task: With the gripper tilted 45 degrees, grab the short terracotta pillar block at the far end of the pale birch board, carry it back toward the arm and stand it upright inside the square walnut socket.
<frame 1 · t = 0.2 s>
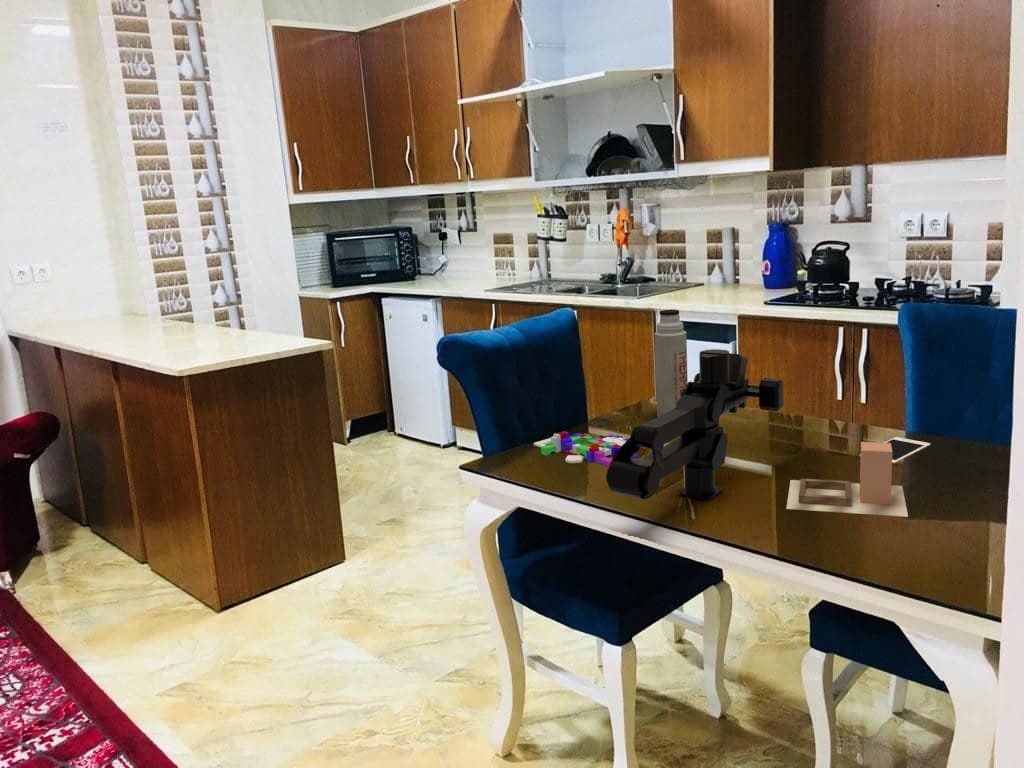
hand: (754, 382, 179), 17 cm above the table, tool horizontal, fingers open, 9 cm apart
board: (845, 502, 155), on the table
thermos bottle: (672, 417, 216), on the table
cell phone: (895, 452, 180), on the table
pillar: (874, 498, 153), point 1 cm above the table, touching board
building block set: (590, 451, 197), on the table
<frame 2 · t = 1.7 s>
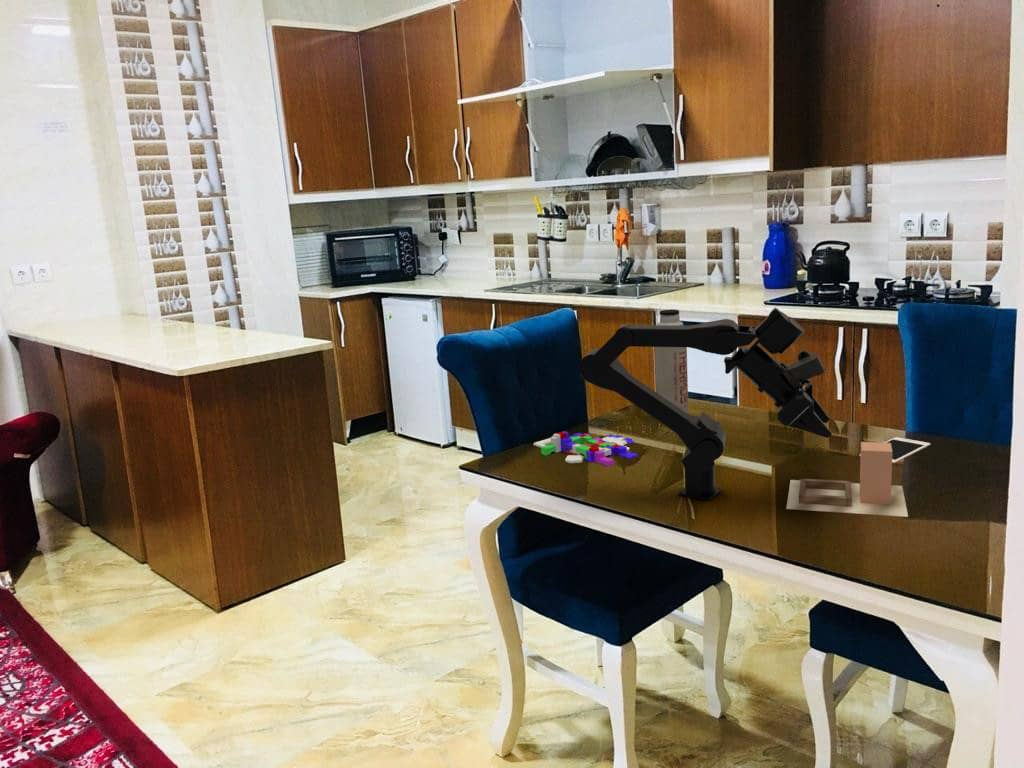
hand: (829, 428, 153), 14 cm above the table, tool tilted 45°, fingers open, 9 cm apart
nothing on the table moved.
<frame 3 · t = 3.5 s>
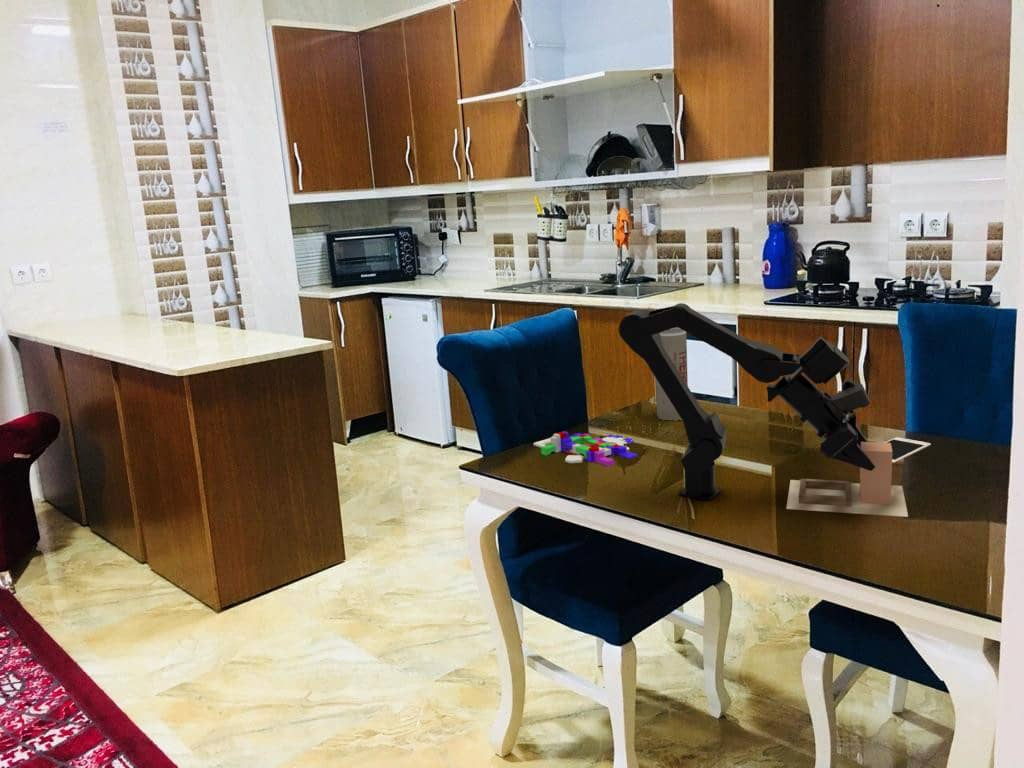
hand: (872, 460, 151), 8 cm above the table, tool tilted 45°, fingers open, 9 cm apart
nothing on the table moved.
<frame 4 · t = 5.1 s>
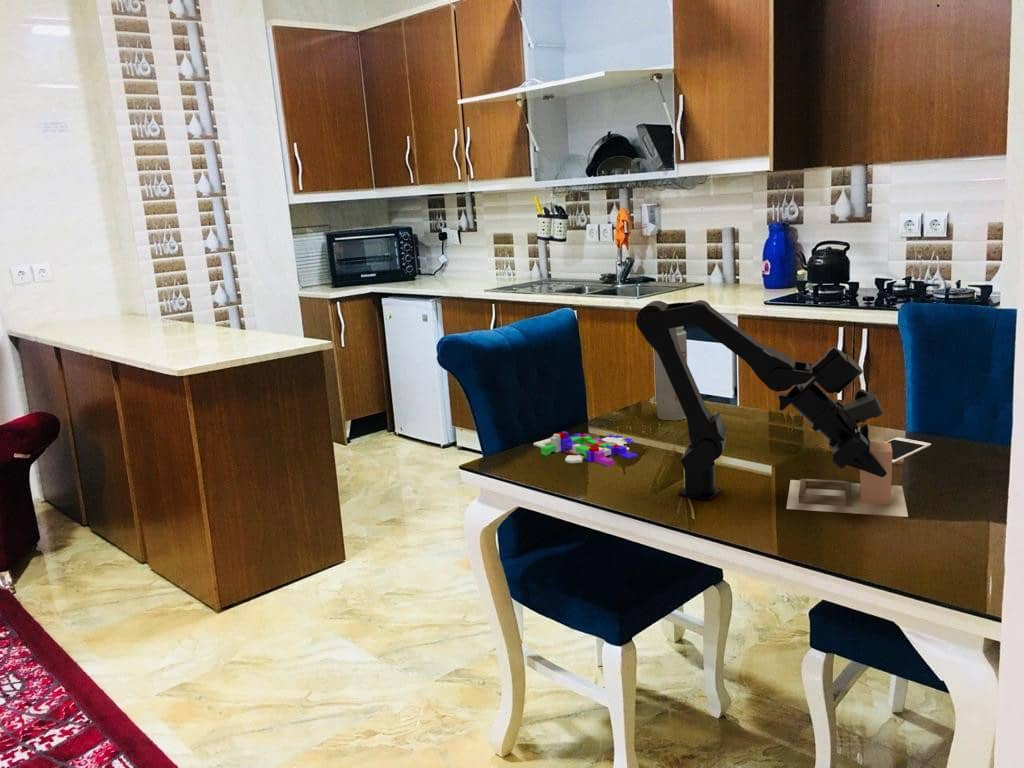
hand: (884, 470, 151), 7 cm above the table, tool tilted 45°, fingers closed on pillar, 5 cm apart
pillar: (874, 498, 153), point 1 cm above the table, touching board, gripper
everything else where it was.
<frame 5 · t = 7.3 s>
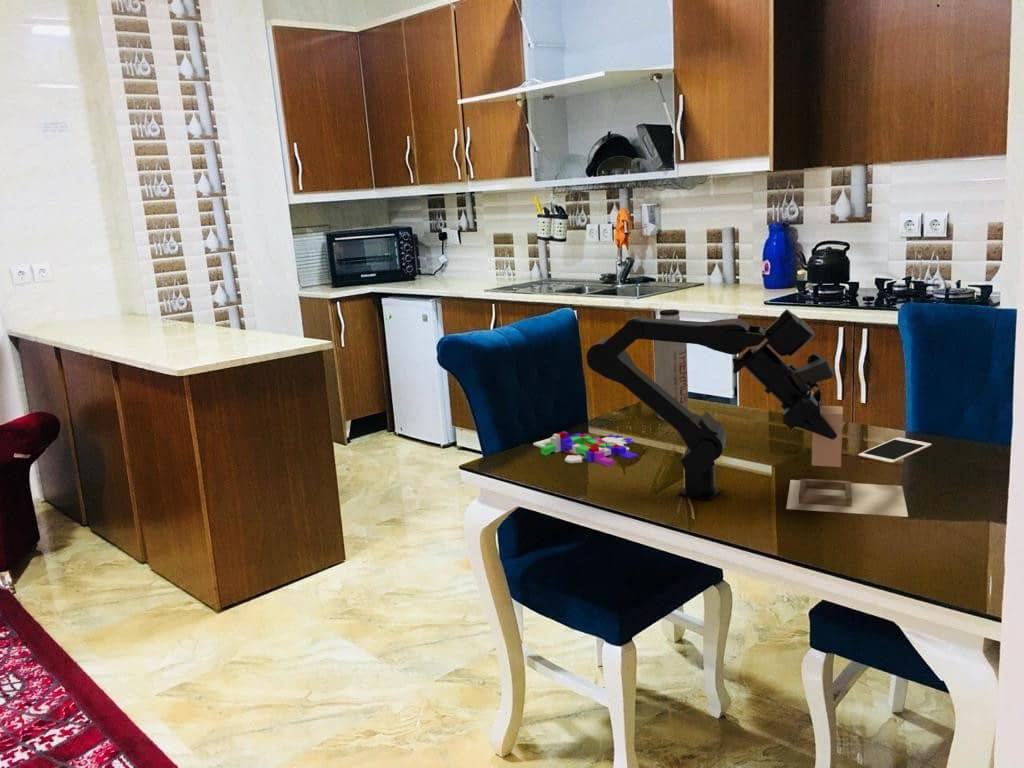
hand: (835, 433, 152), 13 cm above the table, tool tilted 45°, fingers closed on pillar, 5 cm apart
pillar: (826, 461, 154), point 8 cm above the table, touching gripper
everything else where it was.
when the fingers open (7 cm above the table, at t = 9.5 s): pillar stays where it is, resting on board.
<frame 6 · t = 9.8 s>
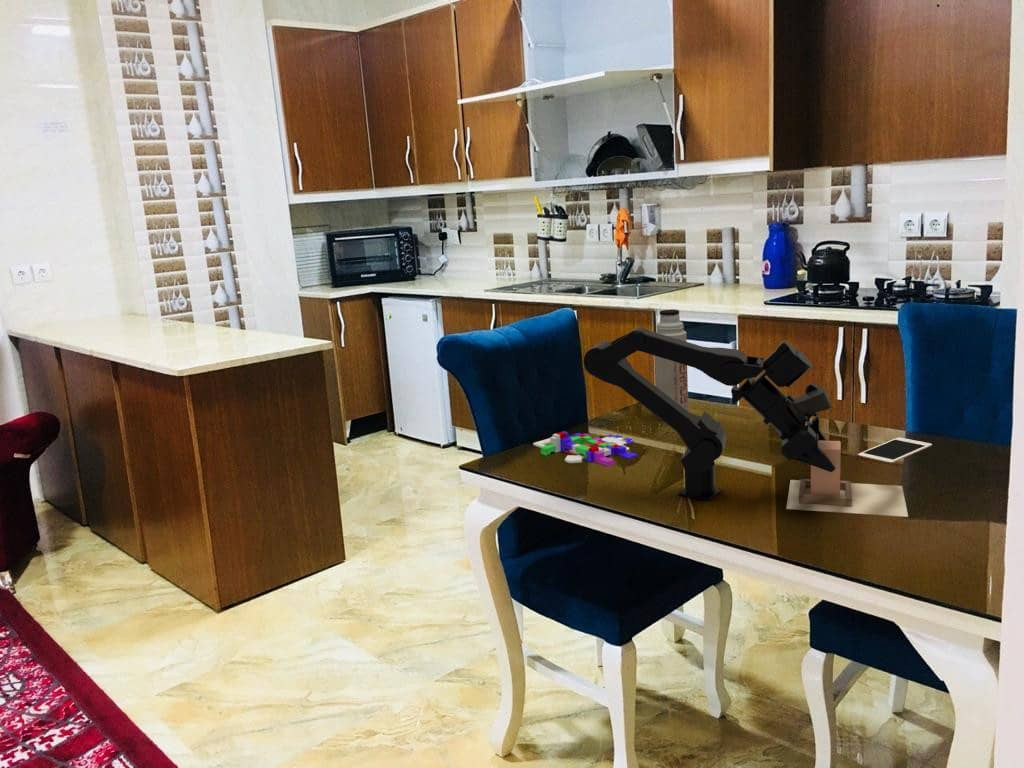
hand: (833, 462, 154), 8 cm above the table, tool tilted 45°, fingers open, 8 cm apart
pillar: (825, 495, 156), point 1 cm above the table, touching board
everything else where it was.
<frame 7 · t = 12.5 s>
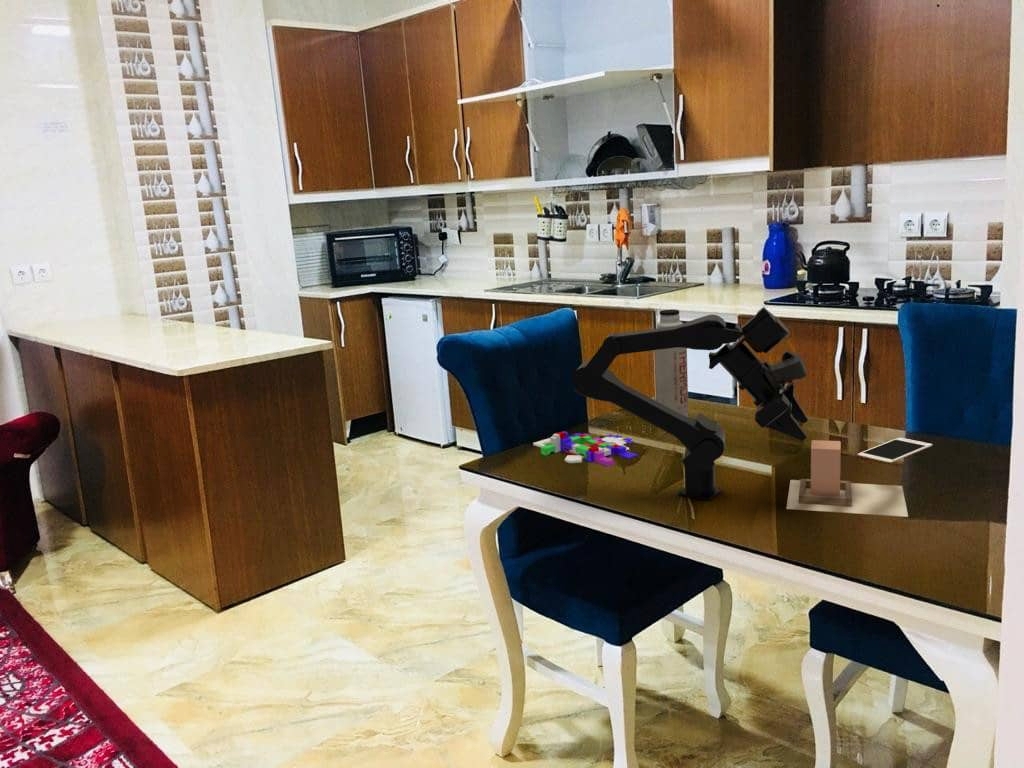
hand: (805, 430, 155), 13 cm above the table, tool tilted 40°, fingers open, 9 cm apart
nothing on the table moved.
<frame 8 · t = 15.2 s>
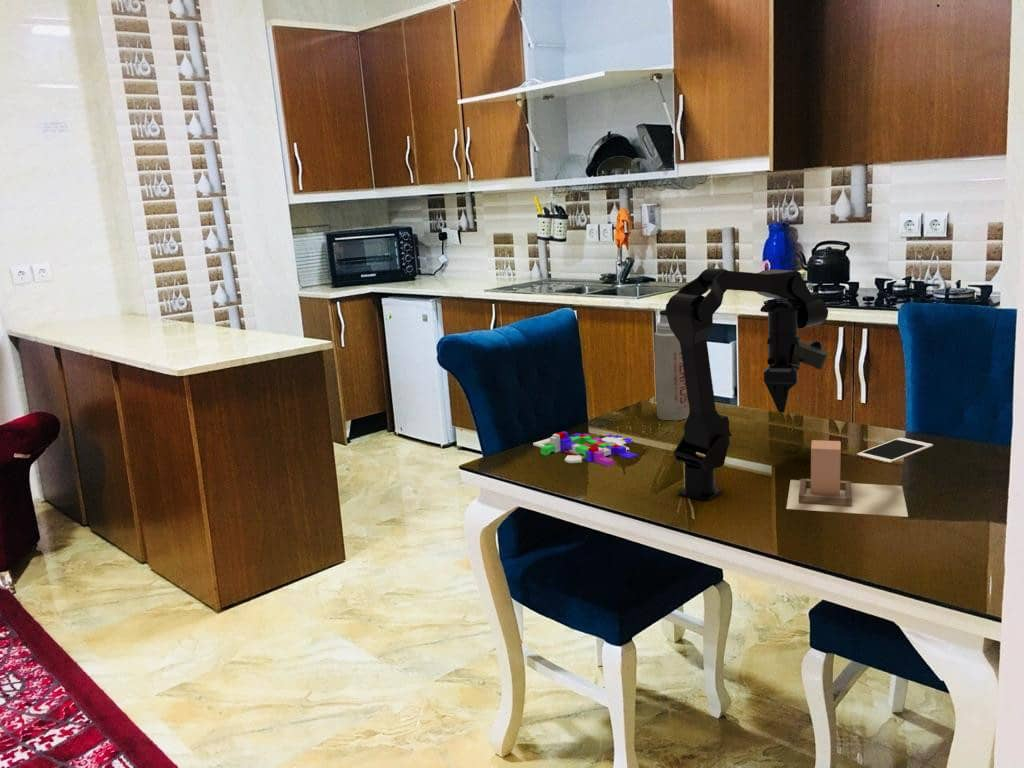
hand: (782, 406, 173), 13 cm above the table, tool pointing down, fingers open, 9 cm apart
nothing on the table moved.
at the end: pillar 0.0 cm from the target spot on the board, point 1.0 cm above the board's base; pillar tilted 0°; the gripper is holding nothing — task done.
